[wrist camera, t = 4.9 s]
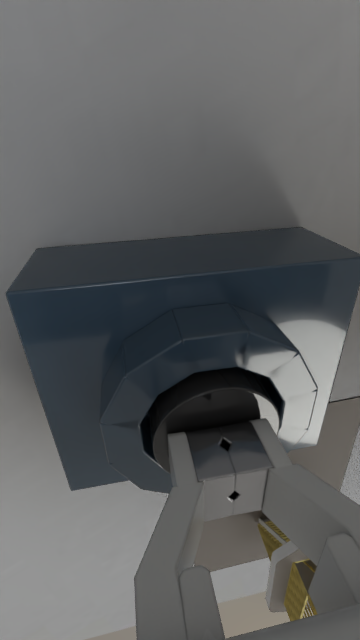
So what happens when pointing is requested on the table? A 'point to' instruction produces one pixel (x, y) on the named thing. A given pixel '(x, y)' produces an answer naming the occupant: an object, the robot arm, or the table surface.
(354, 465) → the table surface
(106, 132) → the table surface
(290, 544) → the platform
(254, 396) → the dark grey push button
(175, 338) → the blue push button box
